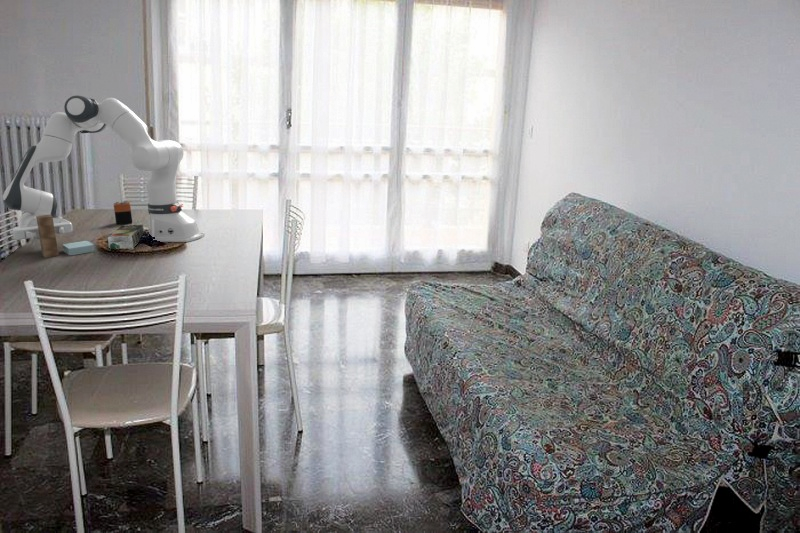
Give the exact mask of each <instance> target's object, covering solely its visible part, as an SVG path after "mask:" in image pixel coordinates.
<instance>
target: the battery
mask: <svg viewBox="0 0 800 533" xmlns="http://www.w3.org/2000/svg"><path fill="white" fill-rule="evenodd" d="M131 208H132V207H131V203H130V201H128V200H123V201H122V202H120V201H115V202H114V203H113V211H114V218H115V224H116V225H128V224H130V225H131V224H132V223H133V218H132V217H133V216H132V209H131Z"/></svg>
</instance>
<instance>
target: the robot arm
mask: <svg viewBox="0 0 800 533" xmlns="http://www.w3.org/2000/svg"><path fill="white" fill-rule="evenodd" d="M63 107H64V112H61V111H57V112H54V113H52V114H51V115H50V116H49V119H48V121H47V123H46V125H45V127H44V130H43V134H42V137H41V139H40V141H38V143H37V144H35V145H31V146H29V148H28V149H27V151H26V152H25V155H24V156H23V158H22V159H21V161H20V164H19V166H18V167H17V169H16V171H15V173H14V175H13V177H12V179H11V181H10V183H9V184H8V186H7V187H6V189H5V190H4V192H3V196H2V201H3V204H5V206H6V207H7V208H8V209H9V210H14V211H21V212H24V213H22V214H21V215H20V216H19V217H20V218H19V226H16V227H12V230H9V234H10V235H12V236H13V238H14V240H16V241H19V240H20V241H21V240H26V239H34V240H39V241H40V236H39V230H38V224H37V218H36V216H41V215H51V216H53V223H54V229H55V236H57V235H62V234H68V233H69V234H70V233H72V232H73V231H74V228H73V224H72V222H71V221H69V220H68V219H66V218H65V219H64V218H63V217H62V216H55V215H56V213H57V210H58V201H57V198H56V197H55V195H54V194H53V193H51V192H48V191H44V190H41V189H37V188H32V187H29V186H26V185H25V183H26V181H27V179H28V177H29V175H30V173H31V171H32V169H33V167H34V166H35V165H37V164H41V163H54V162H55V163H57V162H60V161H61V162H62V161H64V160H65V159H67V158H68V157H69V156H70V154H71V151H72V149H73V144H74V140H75V137H76V135H77V133H80V134H89V133H90V134H96V133H101V132H102V131H104V130H105V129H106V127H108V128H109V129H111V131H112V132H113V133H114V134H116V135H117V137H119V138H120V140H121V141H122V142H123V143H124V144H125V145H126V146H127V148H128V149H129V152H130V155H129V156H130V162H131V164H132V166H133V167H134V168H135V169H136V170H139V171H142V172H143V171H146V172H151V175H150V178H149V179H148V181H147V183H146V193H147V200H148V203H147V211H148V215H149V233H148V235H149V234H150V235H151V236H152V237H155V239H153V240H157V241H160V242H161V243H162V242H163V243H164V242H166V243H168V242H177V243H179V242H181V243H185V242H192V241H196V240H199V239H201V238H203V237H204V236H205V235H206V234H205V232H204V231H199V226H198V222H197V221H196V220H195V219H194V218H192V217H191V216H189V215H188V214H187V213H185V212H184V211H183V209H182V208H183V207H184V203H181V204H180V203H179V201H178V199H177V198H178V197H177V186H176V184H177V182H176V181H177V174H178V169H179V165H180V163H181V161H182V160H183V158H184V149H183V146H182V145H181V144H180V143H179V142H178V141H175V140H172V139H161V140H154V139H153V138H151V136H150V134H149V133H148V132H149V128H148V125H147V124H146V122H144V121H143V120H142V119H141V118H140V117H139V116H138V115H137V114H136V113H135V112H134V111H133V110H132V109H131V108H130V107H129V106H127V105H126V104H124V103H123V102H121V101H120V100H118V99H117V98H115V97H108V98H105V99H103V100H102V101H101V102H97V99H94V98H91V97H87V96H84V95H72V96H70V97H69V98H67V99H66V101H65V102H64V106H63Z"/></svg>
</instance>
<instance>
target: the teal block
mask: <svg viewBox="0 0 800 533" xmlns="http://www.w3.org/2000/svg"><path fill="white" fill-rule="evenodd" d="M61 246H62V252H64V253H65V254H67V255H68V256H74V255H81V254H87V253H92V252H93V253H94V252H95V244H94V243H92V242H90V241H88V240H82V241H75V242H68V243H63V244H61Z"/></svg>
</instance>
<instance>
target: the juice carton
mask: <svg viewBox="0 0 800 533" xmlns="http://www.w3.org/2000/svg"><path fill="white" fill-rule="evenodd" d="M144 229H145V227H144V225H143V224H134V225H131V224H130V225H125V224H122V225H120V226H119V227H118V228H117V229H116V230H115V231H114V232H113V233H111V234H110V235H109V236H107V242H108V245H107V247H108V249H109V248H110V249H114V250H117V249H116V248H134V247H135V246H136V245H137V244H138V242H139V240H140V238H141V236H142V235H143V233H144V234H145V230H144ZM138 245H139V244H138ZM138 245H137V246H138ZM135 248H136V247H135ZM135 248H134V249H135Z"/></svg>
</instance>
